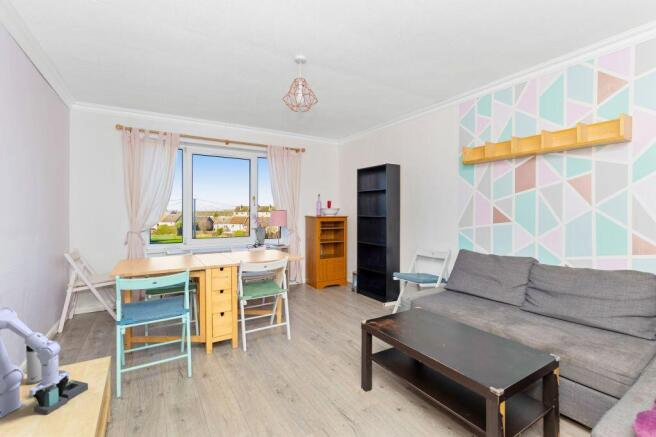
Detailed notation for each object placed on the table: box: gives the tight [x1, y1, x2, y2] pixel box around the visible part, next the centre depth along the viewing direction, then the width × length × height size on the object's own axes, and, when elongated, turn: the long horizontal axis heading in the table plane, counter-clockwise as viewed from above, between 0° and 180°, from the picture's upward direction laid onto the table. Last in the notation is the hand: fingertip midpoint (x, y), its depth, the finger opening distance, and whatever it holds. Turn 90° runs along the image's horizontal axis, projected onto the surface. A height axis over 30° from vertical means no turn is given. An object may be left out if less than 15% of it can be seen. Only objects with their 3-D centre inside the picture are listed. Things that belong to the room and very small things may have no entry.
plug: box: [43, 385, 59, 407], centre depth 135 cm, size 4×4×9 cm
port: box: [59, 379, 89, 402], centre depth 145 cm, size 9×10×3 cm
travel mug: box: [25, 345, 42, 385], centre depth 153 cm, size 6×7×20 cm
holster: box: [33, 396, 69, 415], centre depth 136 cm, size 8×8×2 cm
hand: (51, 400), depth 135 cm, fingers open, 7 cm apart
